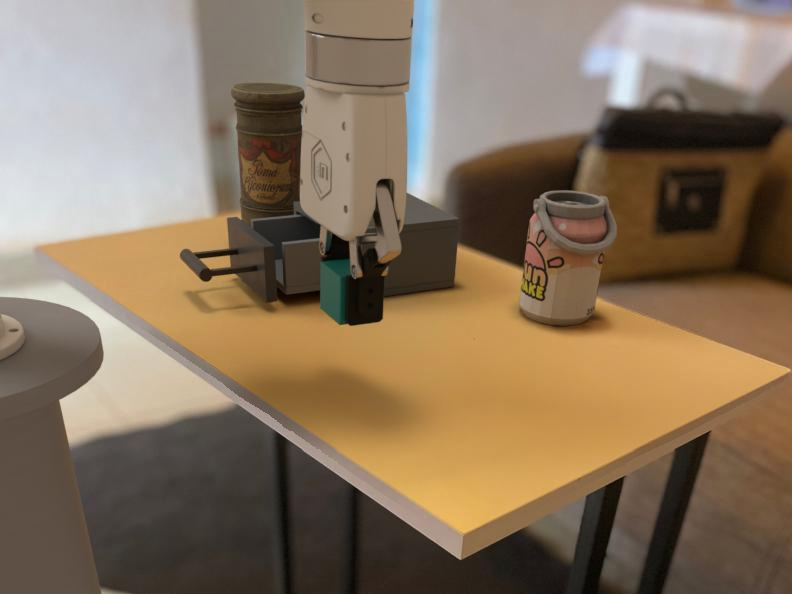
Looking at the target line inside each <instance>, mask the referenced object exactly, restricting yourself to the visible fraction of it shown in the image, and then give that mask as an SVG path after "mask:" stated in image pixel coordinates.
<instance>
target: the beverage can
mask: <svg viewBox="0 0 792 594" xmlns="http://www.w3.org/2000/svg"><path fill="white" fill-rule="evenodd" d="M608 198H609V197H607V196H606V195H596V194H594V193H590V192H584V191H579V190H578V191H577V190H565V189H564V190H550V191H546V192H544V193H542V194H540V195H539V198H535V199H534V200H533V205H532V206H533V211H534V213H533V215H532V216H531V217H530V219H529V222H528V230H527V237H526V245H525V246H526V247H525V254H524V262H523V271H522V277H521V286H520V293H519V301H518V302H519V303H518V304H519V305H518V306H519V308H520V310H521V311H522V312H523V314H524V315H525V316H526V317H527V318H529V319H530V320H532V321H535V322H537V323H541V324H545V325H550V326H559V327H560V326H562V327H563V326H566V327H567V326H576V325H580V324H582V323H584V322H586V321H587V320H588V319H590V318H591V316H592V315H593V314H594V312H595V311H596V310H595V309H596V305H597V298H598V292H599V286H600V282H601V275H602V270H603V265H604V259H605V253H606V251H607V250H609V249H611V248H612V246H613V245H614V243H615V241H616V240H617V237H618V236H617V235H618V234H617V233H618V232H617V231H618V225H617V222H616V219H615V217H614V214H613V213H612V210H611V208H610V201H609V199H608Z"/></svg>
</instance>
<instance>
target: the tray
mask: <svg viewBox="0 0 792 594" xmlns="http://www.w3.org/2000/svg"><path fill="white" fill-rule="evenodd" d="M226 223H227V224H226V225H227V238H228V248H222V249H213V250H203V251H195V252H193V251H192V250H191V249H189V248H184V249H182V250H181V251H180V253H179V258H180V260H181V261H182V262H183V263H184V264H185V265H186V266H187V267H188V269H190V270H191V271H192V272H193V273H194V274H195V275H196V277H197V278H199V279H200V281H202V282H204V283H207V282H209V281H211V280H212V279H213V277H219V276H220V277H221V276H227V275H229V276H230V275H236V276H237V277H238V278H239V279H240V280H241V281H242V282H243V283H244V284H245V285H246V286H247V287H249V288H250V289H251V290H252V291H253V293H255V294H257V296H258V297H260V298H261V299H262V300H263V301H264V302H265V303H266V304H267V303H268V304H269V303H274V302H275V303H276V302H278V292H277V291H278V290H277V289H279V290H280V291H281V292H282V293H284V294H285V295H286V296H287V295H294V294H295V295H296V294H302V293H311V292H318V291H320V262H321V257H326V256H327V255H321V253H320V250H319V241H320V230H319V228H318V226H317V224H316V223H315V222H313V221H311V220H310V219H308V218H307V217H305V216H304V215H302V214H300V215H289V216H279V217H268V218H258V219H251V227H250V226H248V225H247V224H246V223H244V222H243V221H242V220H241V218H239V217H238V216H230V217H226ZM228 256H229V263H230V266H226V267H218V268H211V269H210V268H209V267H208V266H207V265H206V264H205V263H204V262H203V261H202V260H201V259H210V258H211V259H212V258H218V257H219V258H220V257H228Z"/></svg>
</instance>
